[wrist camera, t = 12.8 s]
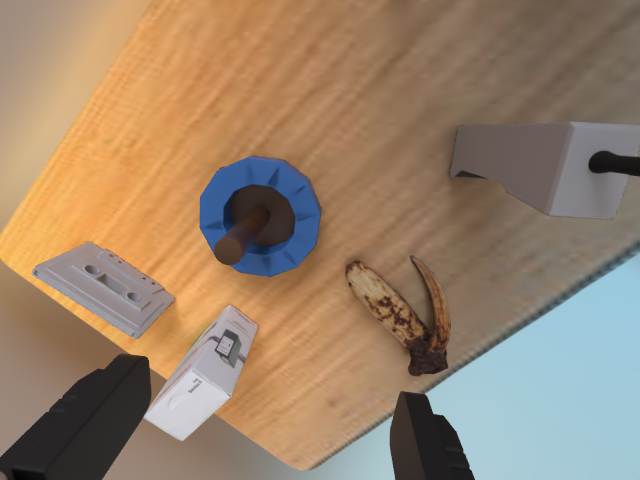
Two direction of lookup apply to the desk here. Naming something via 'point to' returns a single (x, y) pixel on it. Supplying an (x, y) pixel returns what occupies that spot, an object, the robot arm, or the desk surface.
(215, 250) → the peg stand
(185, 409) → the ink box
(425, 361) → the lashed bone hook
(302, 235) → the tape roll
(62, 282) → the cassette
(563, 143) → the vintage mobile phone
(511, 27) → the desk surface
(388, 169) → the desk surface
